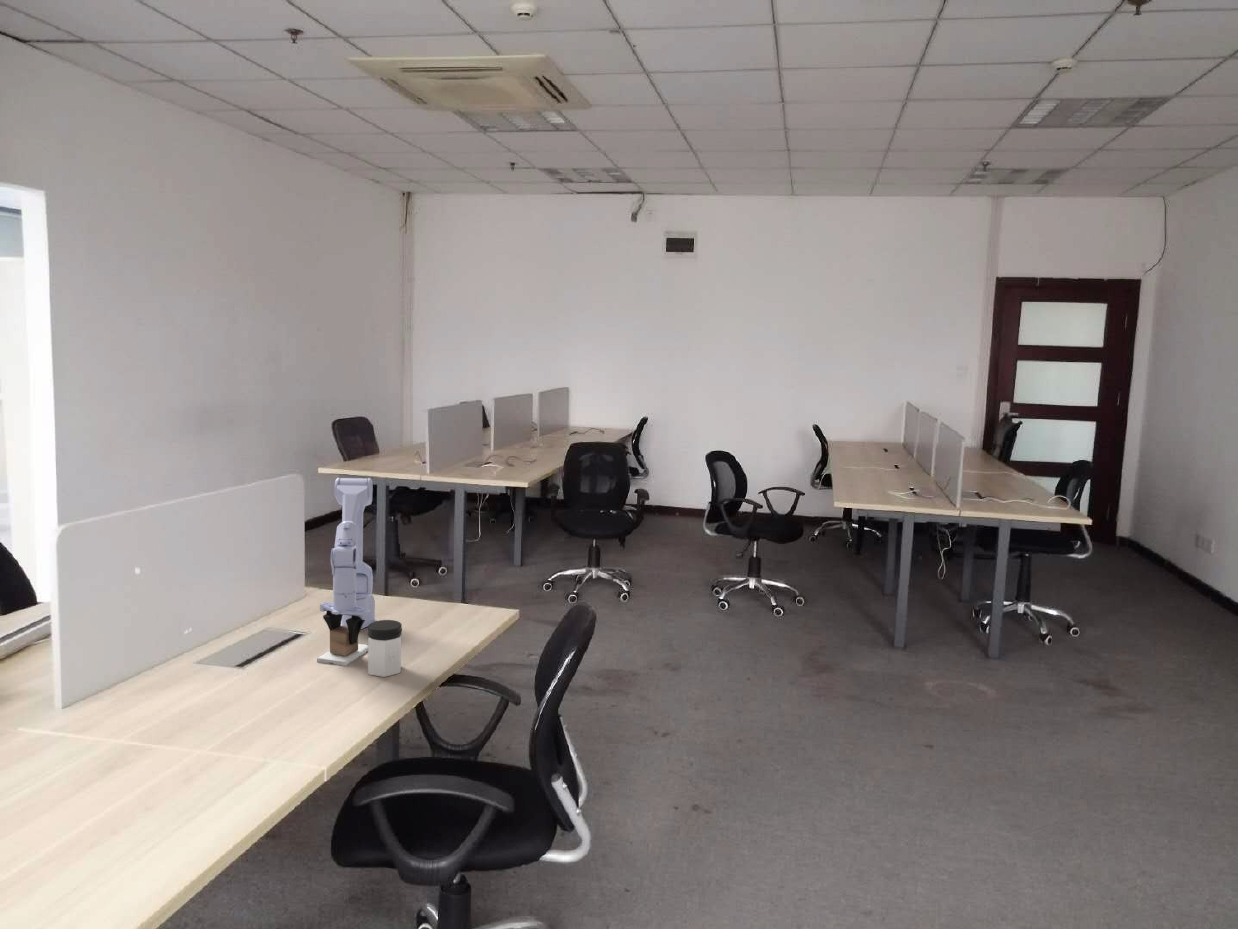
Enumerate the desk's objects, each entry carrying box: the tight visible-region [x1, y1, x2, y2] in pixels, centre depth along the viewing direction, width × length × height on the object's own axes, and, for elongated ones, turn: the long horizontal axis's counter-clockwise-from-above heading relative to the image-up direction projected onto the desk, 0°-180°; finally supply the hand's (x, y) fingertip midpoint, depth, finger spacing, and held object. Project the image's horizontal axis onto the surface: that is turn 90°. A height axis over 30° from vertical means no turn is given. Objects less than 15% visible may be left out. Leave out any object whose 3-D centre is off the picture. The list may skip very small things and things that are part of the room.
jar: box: [367, 619, 403, 678], centre depth 210 cm, size 9×8×12 cm
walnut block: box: [329, 625, 359, 656], centre depth 218 cm, size 5×5×6 cm
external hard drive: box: [316, 643, 368, 667], centre depth 219 cm, size 2×8×12 cm
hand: (344, 641), depth 219 cm, fingers closed on walnut block, 5 cm apart
